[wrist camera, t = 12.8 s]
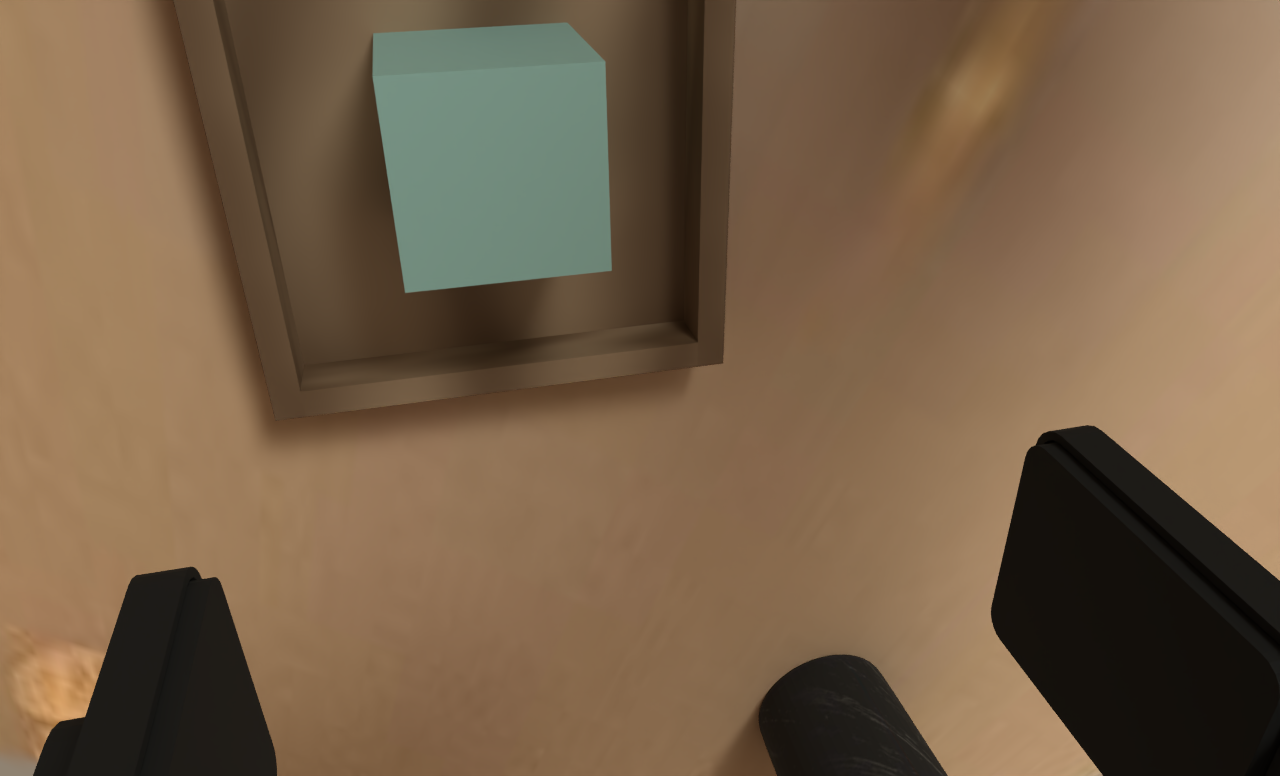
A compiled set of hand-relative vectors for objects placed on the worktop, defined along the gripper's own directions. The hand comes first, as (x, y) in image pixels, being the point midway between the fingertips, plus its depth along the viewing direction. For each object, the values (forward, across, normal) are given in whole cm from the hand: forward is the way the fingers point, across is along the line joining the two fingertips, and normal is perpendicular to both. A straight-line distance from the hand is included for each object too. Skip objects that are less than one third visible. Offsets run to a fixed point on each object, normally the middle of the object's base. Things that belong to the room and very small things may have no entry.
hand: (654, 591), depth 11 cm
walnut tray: (+24, 0, +1) cm, 24 cm away
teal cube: (+24, 0, +1) cm, 24 cm away
